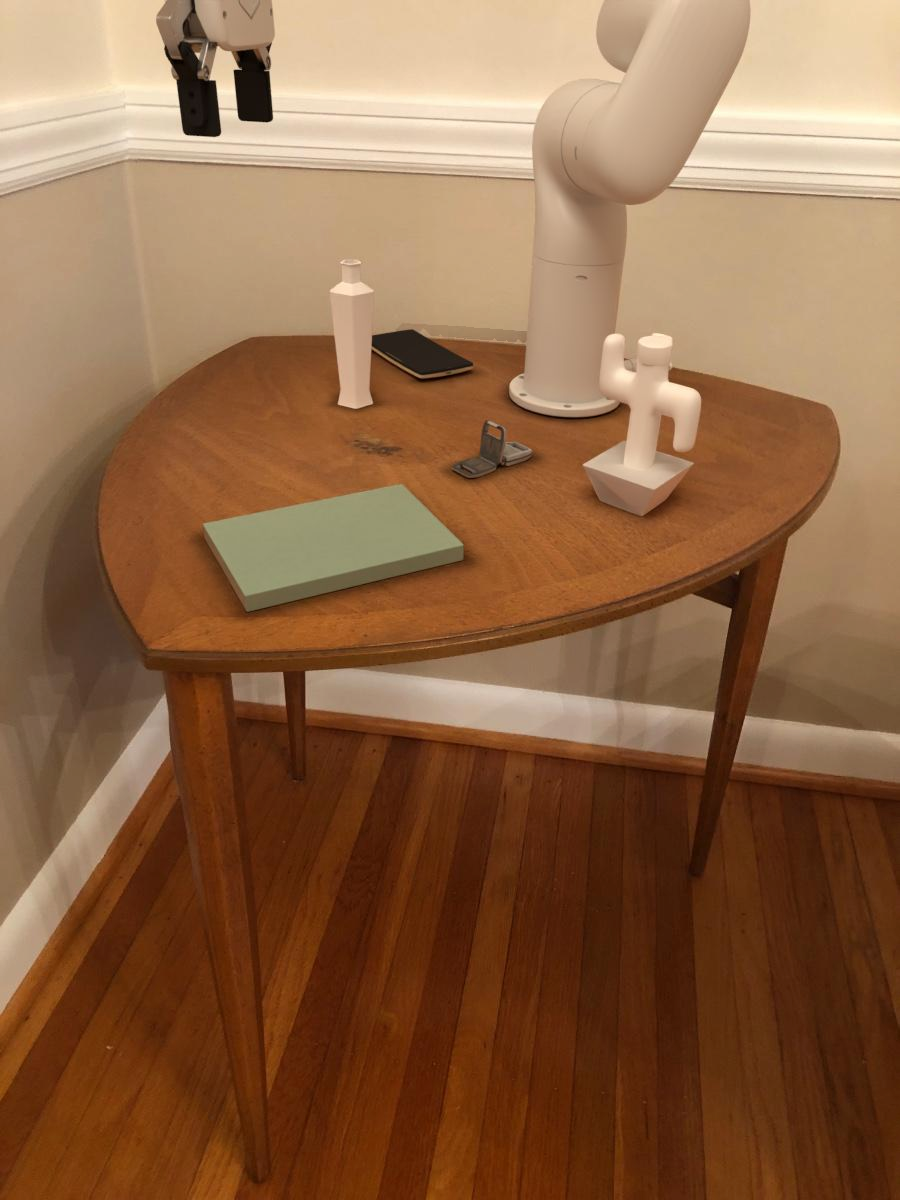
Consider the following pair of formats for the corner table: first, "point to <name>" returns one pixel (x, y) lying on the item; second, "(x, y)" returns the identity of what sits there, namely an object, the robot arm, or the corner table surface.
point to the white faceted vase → (353, 335)
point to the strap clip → (493, 454)
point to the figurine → (643, 426)
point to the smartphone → (418, 354)
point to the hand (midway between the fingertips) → (230, 128)
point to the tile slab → (329, 545)
